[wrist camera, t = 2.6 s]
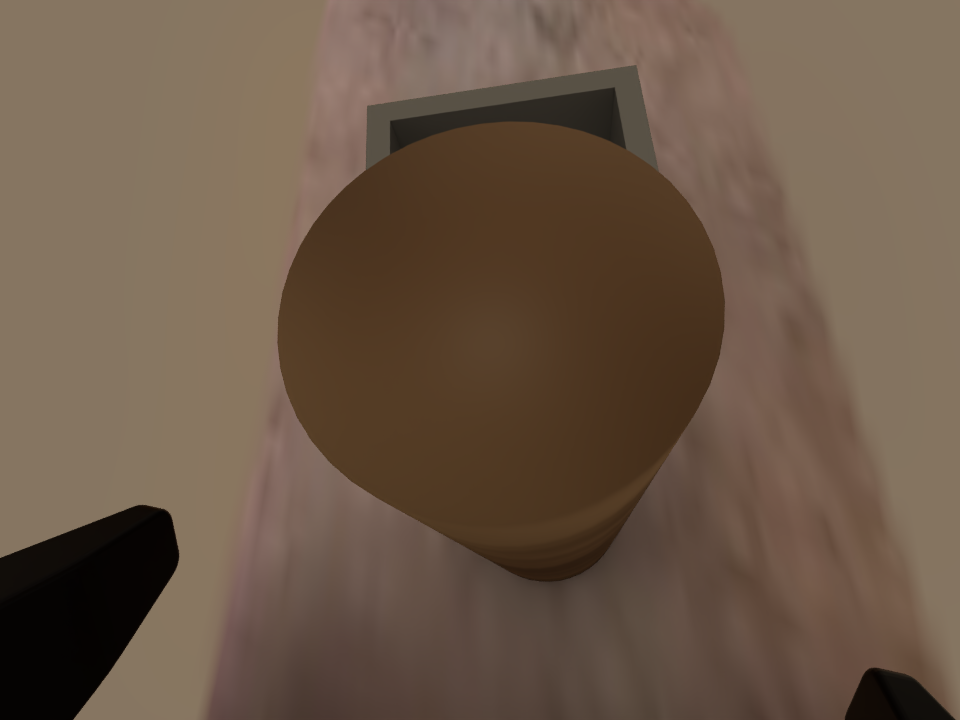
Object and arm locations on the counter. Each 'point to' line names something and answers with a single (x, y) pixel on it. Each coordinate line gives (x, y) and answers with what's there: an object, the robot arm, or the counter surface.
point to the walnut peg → (504, 337)
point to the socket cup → (522, 111)
